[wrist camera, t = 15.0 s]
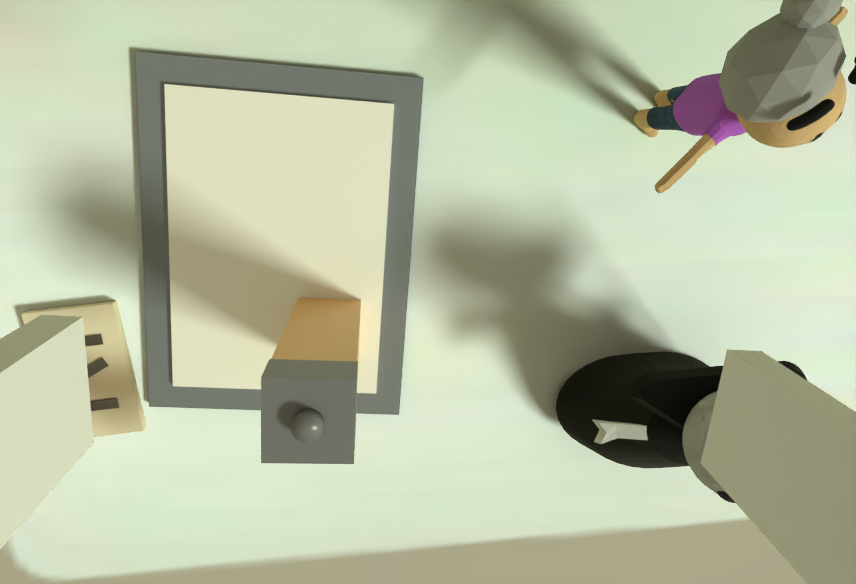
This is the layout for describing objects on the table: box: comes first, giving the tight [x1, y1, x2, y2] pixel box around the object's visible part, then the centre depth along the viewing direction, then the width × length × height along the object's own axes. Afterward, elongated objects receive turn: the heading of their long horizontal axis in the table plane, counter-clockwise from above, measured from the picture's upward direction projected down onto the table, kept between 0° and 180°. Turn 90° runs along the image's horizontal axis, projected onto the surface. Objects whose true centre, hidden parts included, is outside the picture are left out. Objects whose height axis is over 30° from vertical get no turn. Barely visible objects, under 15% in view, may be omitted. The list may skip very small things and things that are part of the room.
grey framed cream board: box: [135, 51, 423, 415], centre depth 35 cm, size 20×15×1 cm
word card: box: [21, 301, 146, 437], centre depth 35 cm, size 8×5×1 cm, turn 6°
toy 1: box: [633, 0, 856, 193], centre depth 27 cm, size 10×6×15 cm, turn 136°
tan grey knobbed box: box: [261, 297, 361, 464], centre depth 30 cm, size 4×4×13 cm
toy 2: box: [556, 352, 807, 503], centre depth 32 cm, size 12×7×15 cm, turn 93°
